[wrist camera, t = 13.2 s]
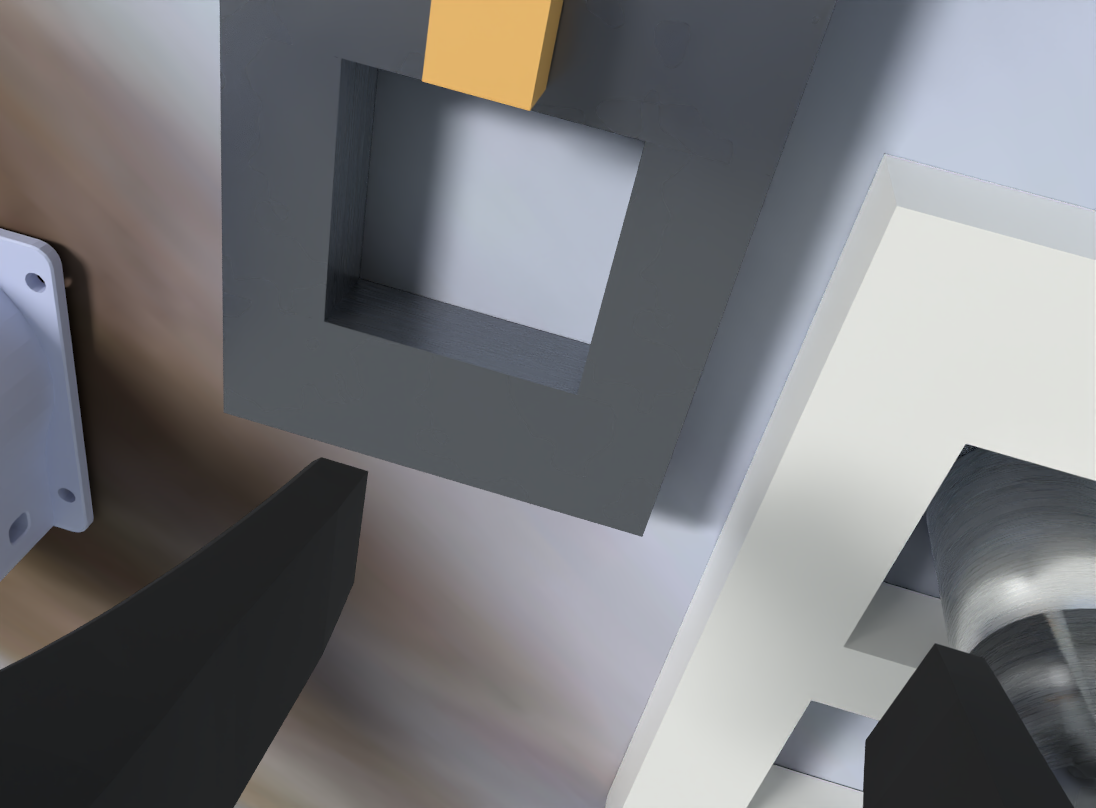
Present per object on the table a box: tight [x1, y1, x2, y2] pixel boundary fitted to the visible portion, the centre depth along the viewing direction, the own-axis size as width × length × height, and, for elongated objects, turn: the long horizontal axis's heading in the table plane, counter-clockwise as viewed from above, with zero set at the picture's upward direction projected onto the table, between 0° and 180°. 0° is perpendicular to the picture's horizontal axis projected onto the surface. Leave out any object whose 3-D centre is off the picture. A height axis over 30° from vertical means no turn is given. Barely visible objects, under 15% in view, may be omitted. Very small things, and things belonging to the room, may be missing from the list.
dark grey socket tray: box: [220, 0, 837, 536], centre depth 17 cm, size 18×10×2 cm, turn 169°
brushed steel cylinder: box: [926, 448, 1096, 808], centre depth 18 cm, size 4×4×8 cm
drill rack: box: [605, 154, 1096, 808], centre depth 23 cm, size 22×12×2 cm, turn 169°
